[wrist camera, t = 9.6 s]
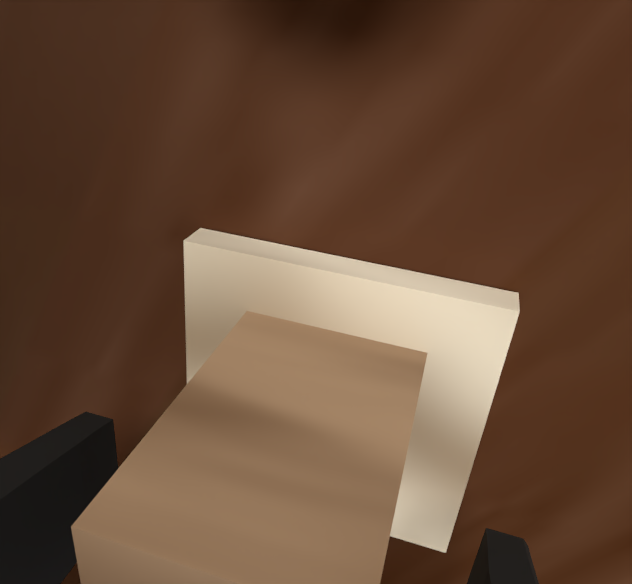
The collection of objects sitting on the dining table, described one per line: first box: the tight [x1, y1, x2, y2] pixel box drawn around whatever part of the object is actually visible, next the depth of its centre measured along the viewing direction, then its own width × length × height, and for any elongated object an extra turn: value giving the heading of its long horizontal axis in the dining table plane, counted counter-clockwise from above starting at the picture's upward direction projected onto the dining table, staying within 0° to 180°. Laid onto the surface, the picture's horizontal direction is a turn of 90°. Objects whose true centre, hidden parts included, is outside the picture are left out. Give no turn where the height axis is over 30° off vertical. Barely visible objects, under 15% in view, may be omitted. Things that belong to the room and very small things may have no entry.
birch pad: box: [184, 228, 520, 553], centre depth 13 cm, size 7×7×1 cm
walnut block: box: [71, 311, 427, 584], centre depth 10 cm, size 4×4×6 cm
